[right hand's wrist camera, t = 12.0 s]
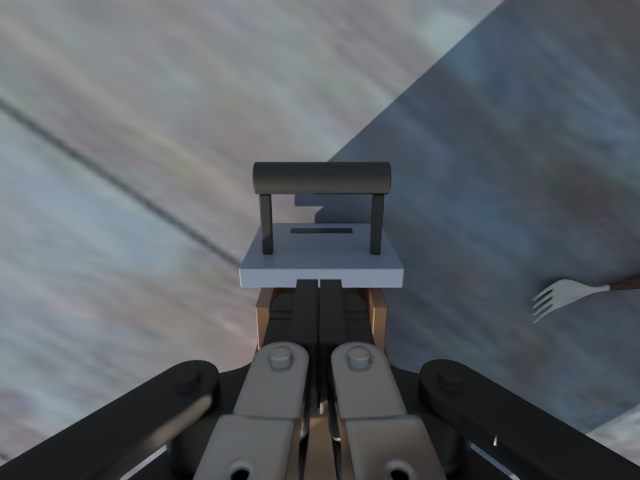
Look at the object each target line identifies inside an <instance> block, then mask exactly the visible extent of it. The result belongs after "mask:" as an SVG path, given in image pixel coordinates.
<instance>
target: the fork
mask: <svg viewBox="0 0 640 480" xmlns="http://www.w3.org/2000/svg"><path fill="white" fill-rule="evenodd" d="M551 289H553V290H552V291H551V292H550V293H549V294H548V295H546V296H545V297H544V298H542V299H541V300H540V301H539V302H538V303H536V304H535V305H534V306H533V307H532V308H533V309H534V308H536V307H537V306H538V305H539V304H541V303H542V302H544V301H545V300H547V299H548V298H550V297H552V299H551V300H550V301H548V302H547V303H546V304H544V305H543V306H542V307H541V308H539V309H538V310H537V311H536V312H535V313H534V314H533V315H532V316H535V315H536V314H537V313H539V312H540V311H541V310H543V309H544V308H546V307H547V306H549V305H551V304H552V306H551V307H550V308H549V309H547V310H546V311H545V312H543V313H542V314H541V315H540V316H539V317H537V318H536V319H535V320H534V321H533V322H532V324H535V323H536V322H537V321H538V320H539V319H541V318H542V317H543V316H545V315H546V314H548V313H549V312H551V311H553V310H555V309H558V308H560V307H563V306H565V305H567V304H570V303H572V302H574V301H576V300H578V299H580V298H582V297H585V296H587V295H589V294H592V293H596V292H601V291H611V290H626V289H640V276H636V277H633V278H629V279H625V280H622V281H618V282H615V283H611V284H608V285H604V286H600V287H590V286H587V285H584V284H582V283H579V282H576V281H573V280H569V279H563V280H559V281H557V282H555V283H553V284H552V285H550V286H549V287H547V288H546V289H544V290H543V291H542V292H540V293H539V294H538V295H537V296H536V297H534V298H533V299H532V301H535V300H536V299H537V298H538V297H540V296H541V295H543V294H544V293H546V292H547V291H549V290H551Z"/></svg>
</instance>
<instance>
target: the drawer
mask: <svg viewBox="0 0 640 480" xmlns="http://www.w3.org/2000/svg"><path fill="white" fill-rule="evenodd" d="M390 186H391V167H390V164H389V163H388V162H255V163H254V166H253V187H254V191H255V193H256V194H260V195H259V200H260V217H261V226H260V228H259V230H258V232H257V234H256V236H255V238H254V240H253V242H252V244H251V246H250V248H249V250H248V252H247V254H246V256H245V258H244V260H243V262H242V264H241V266H240V268H239V274H240V286H241V287H262V289H261V292H260V295H259V298H258V301H257V304H256V320H257V335H258V349H259V350H260V349H261V348H262V345H263V341H264V336H265V332H266V328H267V324H268V320H269V316H270V312H271V307H272V303H273V301H274V300H275V299H276V298H277V297H278V296H279V295H280V294H281V293H295V290H296V282H297V279H318V408H320V279H341V281H342V290H343V294H358V295H359V296H360V297H361V298H362V299H363V300H364V301H365V303H366V307H367V313H368V316H369V320H370V325H371V329H372V333H373V338H374V342H375V346H376V347H378V348H379V349H380V350H382V351H383V353H384V348H385V335H386V322H387V309H388V307H387V304H386V301H385V298H384V295H383V292H382V289H381V287H403V279H404V267H403V265H402V263H401V261H400V259H399V257H398V256H397V254H396V252H395V250H394V248H393V246H392V244H391V242H390V240H389V238H388V236H387V234H386V232H385V231H384V229H383V227H382V224H383V208H384V195H383V194H388V193H389V190H390ZM271 194H372V213H371V224H367V223H272V204H271Z"/></svg>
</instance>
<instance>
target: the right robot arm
mask: <svg viewBox="0 0 640 480" xmlns="http://www.w3.org/2000/svg"><path fill="white" fill-rule="evenodd" d="M310 415H318V279H297V282H296V290H295V293H281V294H280V295H279V296H278V297H277V298H276V299H275V300H274V301H273V303H272V307H271V312H270V316H269V320H268V324H267V328H266V332H265V336H264V341H263V345H262V348H261V349H260V350H258V351H257V353H256V354H255V356H254V358H253V360H252V362H251V363H249V364H248V365H246V366H244V367H241V368H239V369H235V370H231V371H227V372H223V373H219V372H218V369H217V368H216V366H215V365H213V364H212V363H210V362H207V361H202V360H192V361H186V362H183V363H180V364H177V365H175V366H173V367H171V368H169V369H168V370H166V371H164V372H162V373H161V374H159V375H157V376H156V377H154V378H152V379H150V380H149V381H147V382H145V383H143V384H142V385H140V386H138V387H137V388H135V389H133V390H131V391H130V392H128V393H126V394H125V395H123V396H121V397H119V398H118V399H116V400H114V401H112V402H111V403H109V404H107V405H106V406H104V407H102V408H100V409H99V410H97V411H95V412H93V413H92V414H90V415H88V416H87V417H85V418H83V419H81V420H80V421H78V422H76V423H75V424H73V425H71V426H69V427H68V428H66V429H64V430H62V431H61V432H59V433H57V434H56V435H54V436H52V437H50V438H49V439H47V440H45V441H44V442H42V443H40V444H38V445H37V446H35V447H33V448H31V449H30V450H28V451H26V452H25V453H23V454H21V455H19V456H18V457H16V458H14V459H13V460H11V461H9V462H7V463H6V464H4V465H2V466H0V480H119V479H120V478H121V477H122V476H123V475H125V474H126V473H127V472H129V471H130V470H131V469H133V468H134V467H135V466H137V465H138V464H139V463H141V462H142V461H143V460H145V459H146V458H147V457H149V456H150V455H152V454H153V453H154V452H156V451H157V450H158V449H160V448H161V447H162V446H164V445H165V444H166V448H167V450H166V451H165V452H163V453H162V454H161V455H159V456H158V457H157V458H155V459H154V460H153V461H151V462H150V463H149V464H148V465H146V466H145V467H144V468H142V469H141V470H140V471H138V472H137V473H136V474H134V475H133V476H132V477H130V478H129V479H128V480H306V471H307V462H308V454H309V445H310ZM320 415H328V430H329V433H330V445H331V454H332V462H333V471H334V480H512V479H511V478H510V477H508V476H507V475H506V474H504V473H503V472H502V471H500V470H499V469H498V468H496V467H495V466H494V465H492V464H491V463H490V462H489V461H487V460H486V459H485V458H483V457H482V456H481V455H479V454H478V453H477V452H475V451H474V450H473V449H471V444H472V443H474V444H475V445H476V446H478V447H479V448H480V449H482V450H483V451H484V452H486V453H487V454H488V455H490V456H491V457H492V458H494V459H495V460H497V461H498V462H499V463H501V464H502V465H503V466H505V467H506V468H507V469H509V470H510V471H511V472H513V473H514V474H515V475H516V476H517V477H518V478H519V479H520V480H640V466H638V465H636V464H634V463H633V462H631V461H629V460H627V459H626V458H624V457H622V456H621V455H619V454H617V453H615V452H614V451H612V450H610V449H609V448H607V447H605V446H603V445H602V444H600V443H598V442H596V441H595V440H593V439H591V438H590V437H588V436H586V435H584V434H583V433H581V432H579V431H578V430H576V429H574V428H572V427H571V426H569V425H567V424H565V423H564V422H562V421H560V420H559V419H557V418H555V417H553V416H552V415H550V414H548V413H547V412H545V411H543V410H541V409H540V408H538V407H536V406H534V405H533V404H531V403H529V402H528V401H526V400H524V399H522V398H521V397H519V396H517V395H515V394H514V393H512V392H510V391H509V390H507V389H505V388H503V387H502V386H500V385H498V384H497V383H495V382H493V381H491V380H490V379H488V378H486V377H484V376H483V375H481V374H479V373H478V372H476V371H474V370H472V369H471V368H469V367H467V366H465V365H463V364H461V363H458V362H455V361H452V360H444V359H438V360H432V361H429V362H427V363H425V364H424V365H423V366H422V368H421V370H420V374H418V373H414V372H410V371H405V370H402V369H398V368H396V367H393V366H391V365H389V363H388V360H387V358H386V356H385V354H384V353H383V351H382V350H380V349H379V348H378V347H376V346H375V342H374V338H373V333H372V329H371V325H370V320H369V316H368V313H367V307H366V303H365V301H364V300H363V299H362V298H361V297H360V296H359V295H358V294H343V290H342V281H341V279H320Z"/></svg>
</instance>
